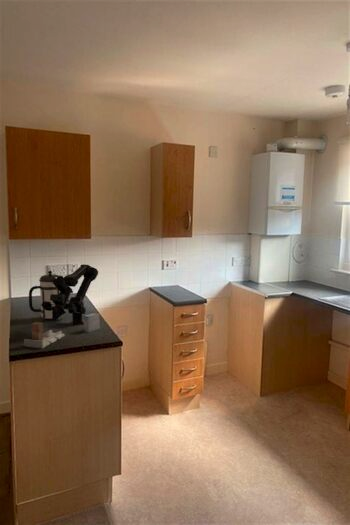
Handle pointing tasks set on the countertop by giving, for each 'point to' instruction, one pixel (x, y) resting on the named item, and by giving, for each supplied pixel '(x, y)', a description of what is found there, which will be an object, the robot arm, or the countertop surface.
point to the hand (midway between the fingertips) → (53, 320)
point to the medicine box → (91, 322)
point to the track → (44, 339)
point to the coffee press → (45, 294)
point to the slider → (37, 331)
